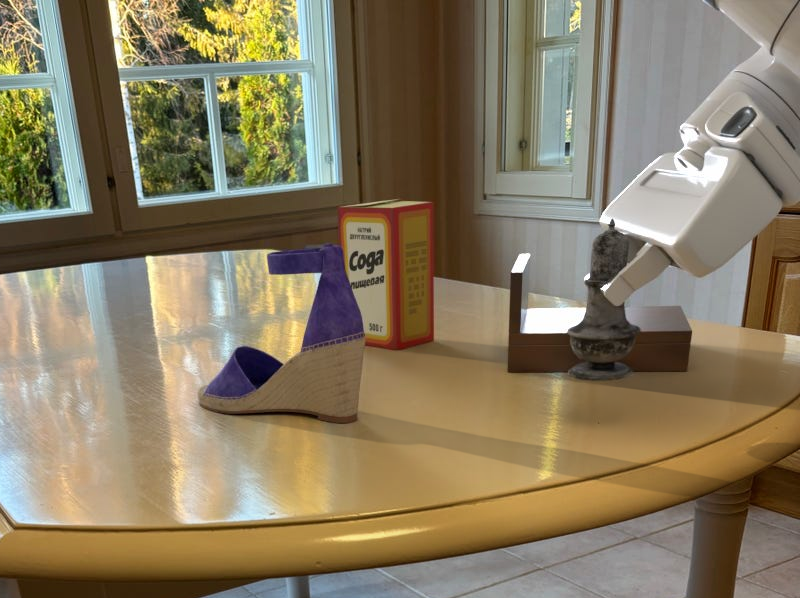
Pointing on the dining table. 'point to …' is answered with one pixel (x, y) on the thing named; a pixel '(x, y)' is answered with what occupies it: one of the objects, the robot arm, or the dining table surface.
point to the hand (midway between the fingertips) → (598, 294)
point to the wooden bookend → (547, 328)
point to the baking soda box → (391, 269)
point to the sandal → (302, 351)
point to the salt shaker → (603, 316)
